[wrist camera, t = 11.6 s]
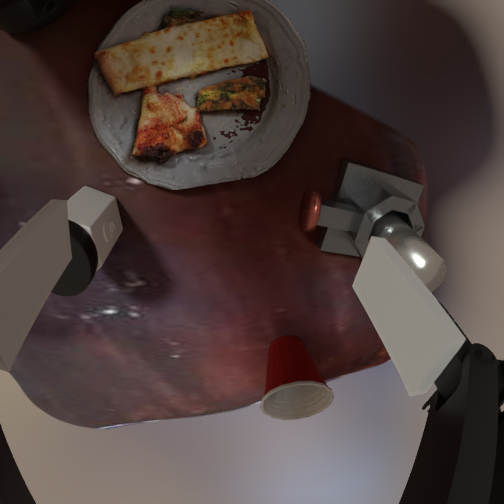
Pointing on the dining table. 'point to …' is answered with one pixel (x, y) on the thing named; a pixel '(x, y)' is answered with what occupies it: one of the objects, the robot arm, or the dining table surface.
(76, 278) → the jar
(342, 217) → the valve body
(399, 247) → the pipe stub
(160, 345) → the dining table surface
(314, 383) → the plastic cup
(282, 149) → the food plate
